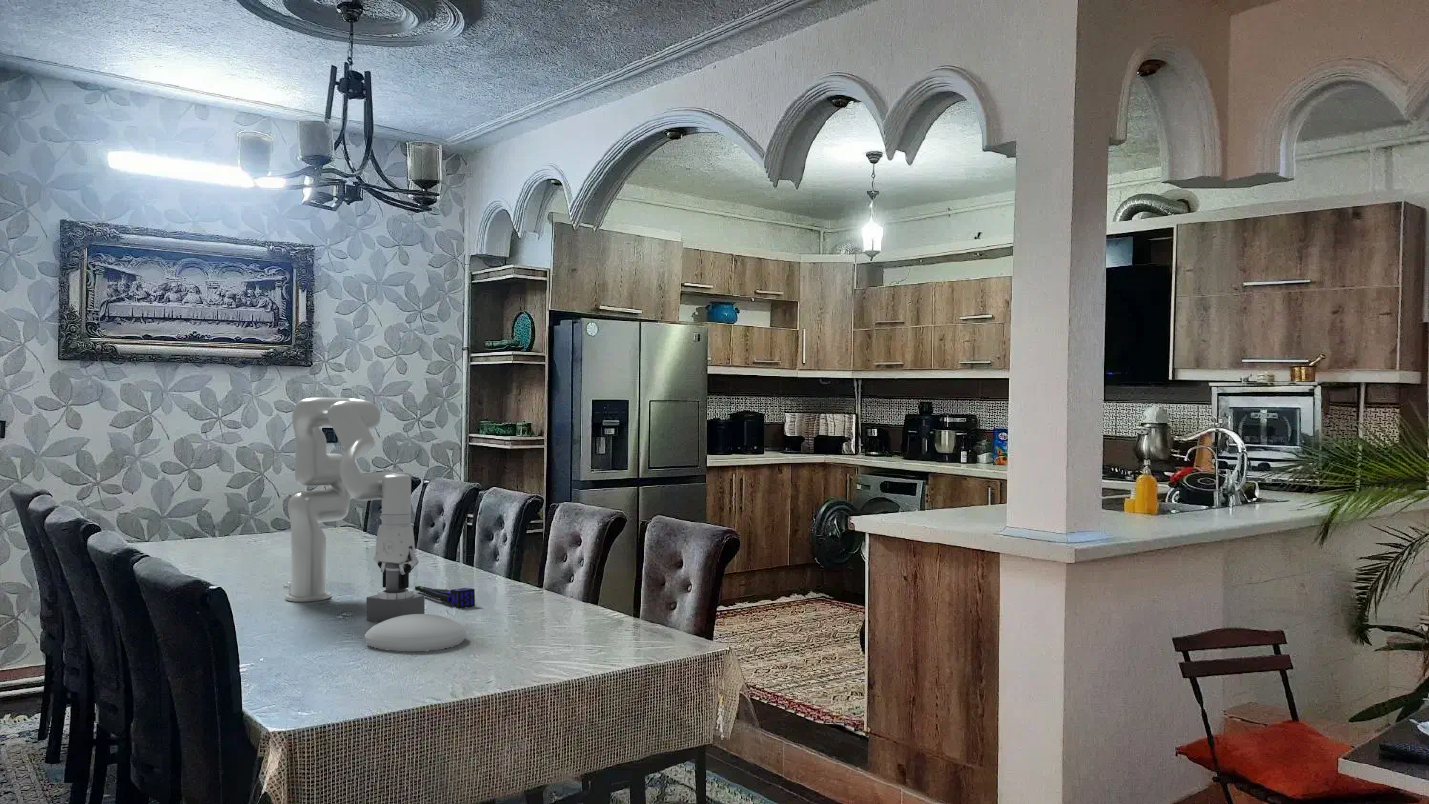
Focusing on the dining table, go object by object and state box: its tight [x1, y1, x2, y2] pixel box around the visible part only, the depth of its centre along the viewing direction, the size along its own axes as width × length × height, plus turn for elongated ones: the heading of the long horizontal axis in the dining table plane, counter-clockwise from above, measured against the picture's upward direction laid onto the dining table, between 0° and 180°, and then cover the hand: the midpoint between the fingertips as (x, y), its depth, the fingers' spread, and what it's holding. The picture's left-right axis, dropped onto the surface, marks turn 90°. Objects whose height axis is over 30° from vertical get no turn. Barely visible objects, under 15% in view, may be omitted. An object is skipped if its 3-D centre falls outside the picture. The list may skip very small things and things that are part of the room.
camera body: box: [365, 587, 426, 623], centre depth 273 cm, size 12×9×8 cm
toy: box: [414, 585, 476, 610], centre depth 300 cm, size 8×5×30 cm
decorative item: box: [364, 613, 467, 652], centre depth 247 cm, size 24×7×20 cm
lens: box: [385, 563, 405, 593], centre depth 273 cm, size 5×5×8 cm
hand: (395, 586), depth 273 cm, fingers closed on lens, 4 cm apart
